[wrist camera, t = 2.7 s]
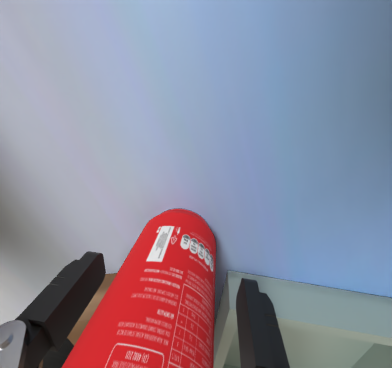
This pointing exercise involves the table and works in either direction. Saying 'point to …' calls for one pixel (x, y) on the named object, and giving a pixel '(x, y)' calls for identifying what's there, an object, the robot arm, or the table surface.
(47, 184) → the table surface
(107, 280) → the walnut block
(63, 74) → the table surface
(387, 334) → the tray
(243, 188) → the table surface
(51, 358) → the drinking cup
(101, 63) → the table surface
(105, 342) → the beverage can
